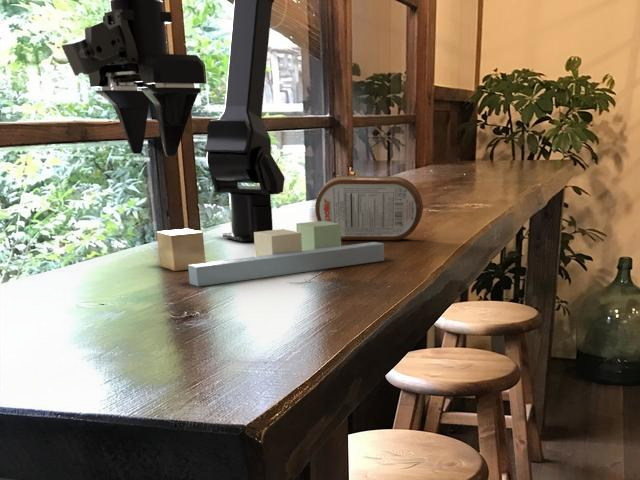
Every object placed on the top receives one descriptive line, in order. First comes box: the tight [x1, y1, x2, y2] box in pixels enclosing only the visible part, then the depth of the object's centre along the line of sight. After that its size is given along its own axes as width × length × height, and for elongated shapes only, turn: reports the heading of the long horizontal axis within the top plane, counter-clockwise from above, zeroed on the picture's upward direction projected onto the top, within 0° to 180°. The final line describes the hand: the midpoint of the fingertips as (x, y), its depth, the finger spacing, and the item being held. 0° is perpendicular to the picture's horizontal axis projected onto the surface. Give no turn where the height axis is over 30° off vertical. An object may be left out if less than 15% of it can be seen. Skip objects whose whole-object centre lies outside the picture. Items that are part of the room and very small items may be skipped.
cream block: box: [253, 228, 302, 257], centre depth 94 cm, size 4×4×4 cm
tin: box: [314, 175, 424, 242], centre depth 112 cm, size 15×3×8 cm, turn 84°
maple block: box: [156, 228, 207, 272], centre depth 95 cm, size 4×4×4 cm
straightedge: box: [187, 241, 385, 288], centre depth 92 cm, size 2×25×2 cm, turn 127°
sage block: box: [295, 220, 342, 251], centre depth 101 cm, size 4×4×4 cm
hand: (153, 154), depth 95 cm, fingers open, 9 cm apart
